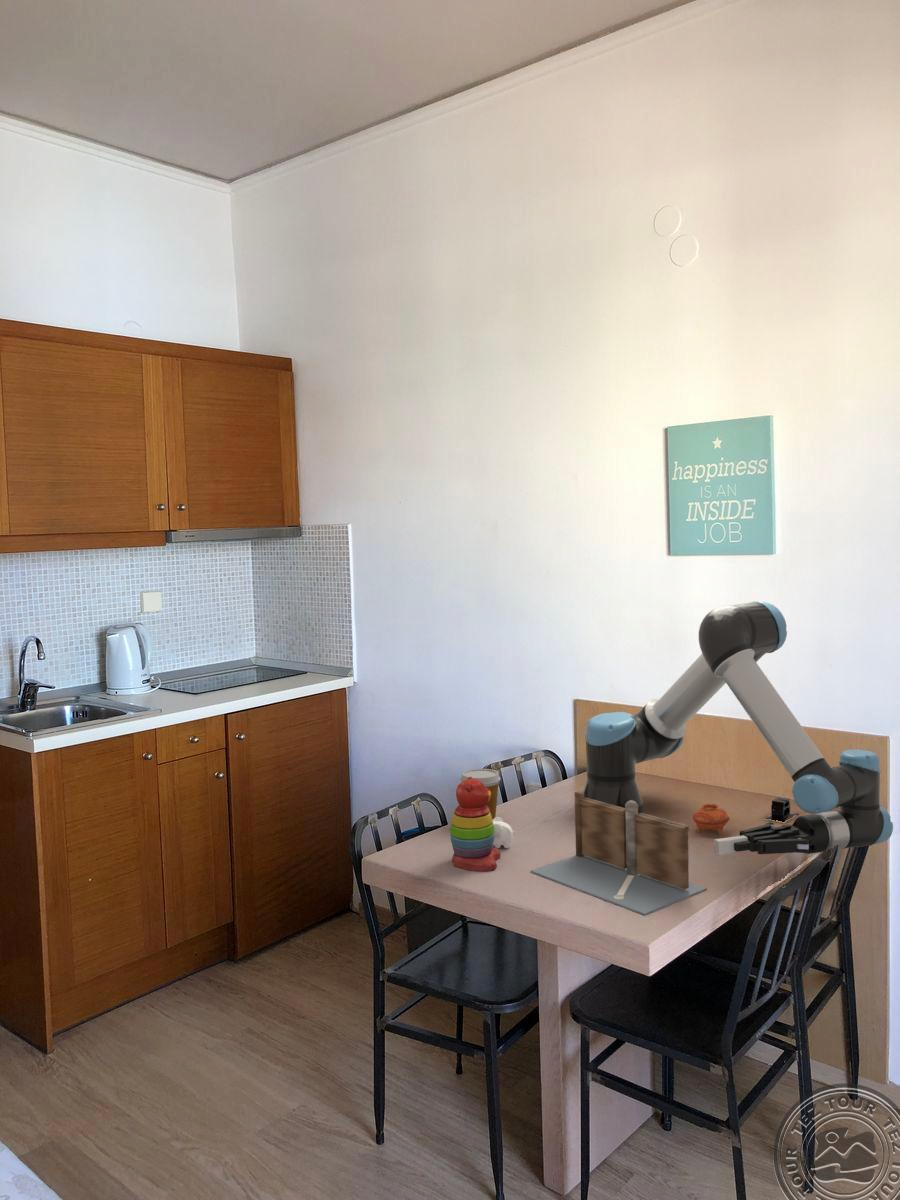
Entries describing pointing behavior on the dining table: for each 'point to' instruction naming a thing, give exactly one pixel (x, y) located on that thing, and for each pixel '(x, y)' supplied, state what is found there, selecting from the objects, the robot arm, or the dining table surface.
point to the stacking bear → (473, 828)
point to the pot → (710, 818)
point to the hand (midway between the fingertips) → (716, 847)
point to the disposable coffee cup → (486, 784)
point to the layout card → (616, 884)
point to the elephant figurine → (502, 833)
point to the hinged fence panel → (662, 850)
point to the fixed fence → (606, 832)
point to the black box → (780, 810)
